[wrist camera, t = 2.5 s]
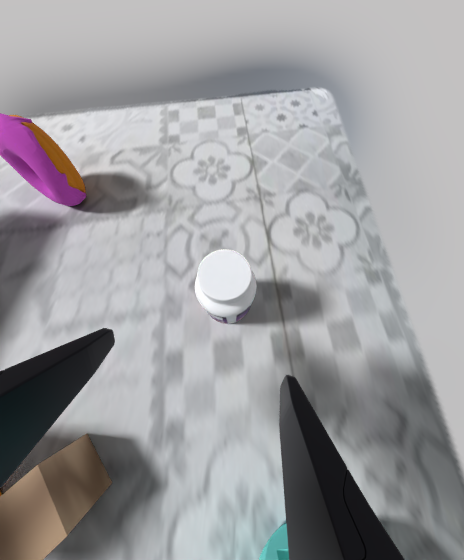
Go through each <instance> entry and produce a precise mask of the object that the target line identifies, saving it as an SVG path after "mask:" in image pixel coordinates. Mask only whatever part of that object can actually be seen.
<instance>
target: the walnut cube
mask: <svg viewBox="0 0 464 560" xmlns="http://www.w3.org/2000/svg"><path fill="white" fill-rule="evenodd" d="M111 484H112V481H111V479H110V477H109V476H108V474H107V472H106V470H105V468H104V466H103V464H102V462H101V460H100V458H99V456H98V454H97V452H96V450H95V448H94V446H93V444H92V442H91V440H90V438H89V436H88V434H85V435H84V436H82V437H81V438H79V439H77V440H76V441H74V442H73V443H71V444H70V445H68V446H66V447H65V448H63V449H62V450H60V451H58V452H57V453H55V454H54V455H52V456H51V457H49V458H47V459H46V460H44V461H43V462H41V463H40V464H38V465H37V466H35V467H34V468H33V469H32V470H31V471H30V472H28V473H27V474H26V475H25V476H24V477H23V478H21V479H20V480H19V481H18V482H17V483H15V484H14V485H13V486H12V487H11V488H10V489H8V490H7V491H6V492H5V493H4V494H3V495H1V496H0V560H43V559H44V558H45V557H46V556H47V555H48V554H49V553H50V552H51V551H52V550H53V549H54V548H55V547H56V546H57V545H58V544H59V543H60V542H61V541H63V540H64V539H65V538H66V537H67V536H68V534H69V533H70V532H71V531H72V530H73V529H74V527H75V526H76V525H77V524H78V523H79V521H80V520H81V519H82V518H83V517H84V516H85V514H86V513H87V512H88V511H89V510H90V509H91V507H92V506H93V505H94V504H95V503H96V501H97V500H98V499H99V498H100V497H101V496H102V494H103V493H104V492H105V491H106V490H107V488H108V487H109V486H110V485H111Z"/></svg>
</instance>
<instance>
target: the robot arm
mask: <svg viewBox="0 0 464 560" xmlns="http://www.w3.org/2000/svg"><path fill="white" fill-rule="evenodd" d="M114 343H115V339H114V334H113V331H112V330H111V329H107V328H103V329H100V330H98V331H96V332H93V333H91V334H88V335H86V336H84V337H81V338H79V339H76V340H74V341H72V342H69V343H67V344H64V345H62V346H60V347H57V348H55V349H53V350H50V351H48V352H45V353H43V354H41V355H38V356H36V357H33V358H31V359H29V360H26V361H24V362H21V363H19V364H17V365H14V366H12V367H9V368H7V369H5V370H2V371H0V487H2V485H3V484H4V483H5V482H6V481H7V479H8V478H9V477H10V476H11V474H12V473H13V472H14V471H15V470H16V468H17V467H18V466H19V465H20V464H21V462H22V461H23V460H24V459H25V457H26V456H27V455H28V454H29V453H30V451H31V450H32V449H33V448H34V446H35V445H36V444H37V443H38V442H39V440H40V439H41V438H42V437H43V436H44V434H45V433H46V432H47V431H48V429H49V428H50V427H51V426H52V425H53V423H54V422H55V421H56V420H57V418H58V417H59V416H60V415H61V414H62V412H63V411H64V410H65V409H66V407H67V406H68V405H69V404H70V403H71V401H72V400H73V399H74V398H75V397H76V395H77V394H78V393H79V392H80V390H81V389H82V388H83V387H84V386H85V384H86V383H87V382H88V381H89V379H90V378H91V377H92V376H93V374H94V373H95V372H96V370H97V369H98V368H99V366H100V365H101V363H102V362H103V360H104V359H105V357H106V356H107V354H108V353H109V351H110V350H111V348H112V347H113V345H114ZM279 426H280V442H281V455H282V469H283V483H284V496H285V510H286V524H287V538H288V551H289V560H405V559H404V558H403V556H402V555H401V553H400V552H399V550H398V549H397V547H396V546H395V544H394V543H393V541H392V540H391V538H390V537H389V535H388V534H387V532H386V530H385V529H384V527H383V526H382V524H381V523H380V521H379V520H378V518H377V516H376V515H375V513H374V512H373V510H372V509H371V507H370V505H369V504H368V502H367V500H366V499H365V497H364V495H363V494H362V492H361V490H360V489H359V487H358V485H357V484H356V482H355V480H354V479H353V477H352V475H351V473H350V472H349V470H347V467H346V465H345V463H344V461H343V460H342V458H341V456H340V454H339V453H338V451H337V449H336V447H335V446H334V444H333V442H332V440H331V439H330V437H329V435H328V433H327V432H326V430H325V428H324V427H323V425H322V423H321V421H320V420H319V418H318V416H317V414H316V413H315V411H314V409H313V407H312V406H311V404H310V402H309V400H308V399H307V397H306V395H305V394H304V392H303V390H302V388H301V387H300V385H299V383H298V381H297V380H296V378H295V377H294V376H290V375H286V376H285V378H284V380H283V382H282V384H281V388H280V421H279Z"/></svg>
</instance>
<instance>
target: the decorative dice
mask: <svg viewBox="0 0 464 560" xmlns="http://www.w3.org/2000/svg"><path fill="white" fill-rule="evenodd" d="M259 560H289V551H288V538H287V524H284V525H282V526H281V527H280V528H279V529H278V530H277V531H276V532H275V533H274V534H273V535H272V536H271V538H270V539H269V540H268V542H267V544H266V545H265V547H264V549H263V551H262V553H261V555H260V558H259Z"/></svg>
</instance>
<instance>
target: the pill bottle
mask: <svg viewBox="0 0 464 560" xmlns="http://www.w3.org/2000/svg"><path fill="white" fill-rule="evenodd" d="M256 288H257V285H256V279H255V276H254V274H253V272H252V270H251V267H250V264H249V262H248V261H247V259H246V258H245V257H244V256H243V255H241V254H240V253H238V252H236V251H233V250H228V249H222V250H217V251H214V252H212V253H210V254H209V255H207V256H206V257H205V258H204V259H203V260H202V262H201V263H200V265H199V268H198V272H197V278H196V281H195V293H196V296H197V299H198V301H199V303H200V304H201V306H202V307H203V308H204V309H205V310H206V311H207V313H208V314H209V315H210V316H211V317H212V318H213V319H215V320H216V321H218V322H221V323H226V324H230V323H234V322H237V321H239V320H241V319H242V318H243V317H244V316H245V315H246V314H247V312H248V310H249V308H250V306H251V304H252V302H253V300H254V297H255V294H256Z"/></svg>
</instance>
